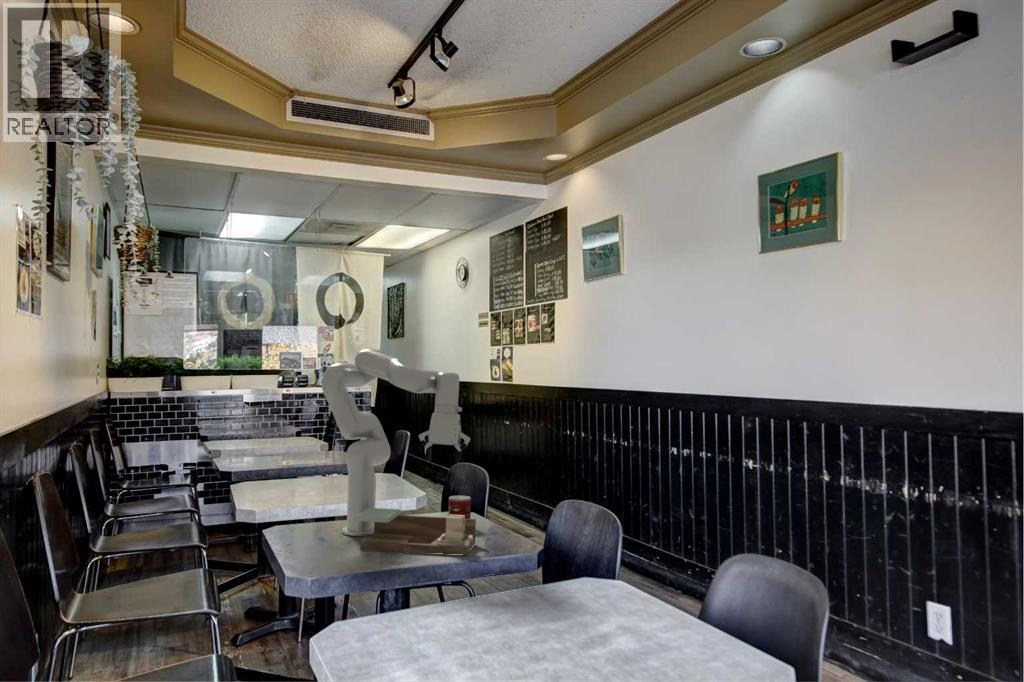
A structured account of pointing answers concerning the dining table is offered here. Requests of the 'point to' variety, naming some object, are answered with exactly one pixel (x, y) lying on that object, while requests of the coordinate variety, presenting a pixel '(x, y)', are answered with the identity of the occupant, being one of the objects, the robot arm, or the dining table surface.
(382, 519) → the sliding cover
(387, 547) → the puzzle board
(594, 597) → the dining table surface
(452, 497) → the canned food
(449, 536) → the beech block
